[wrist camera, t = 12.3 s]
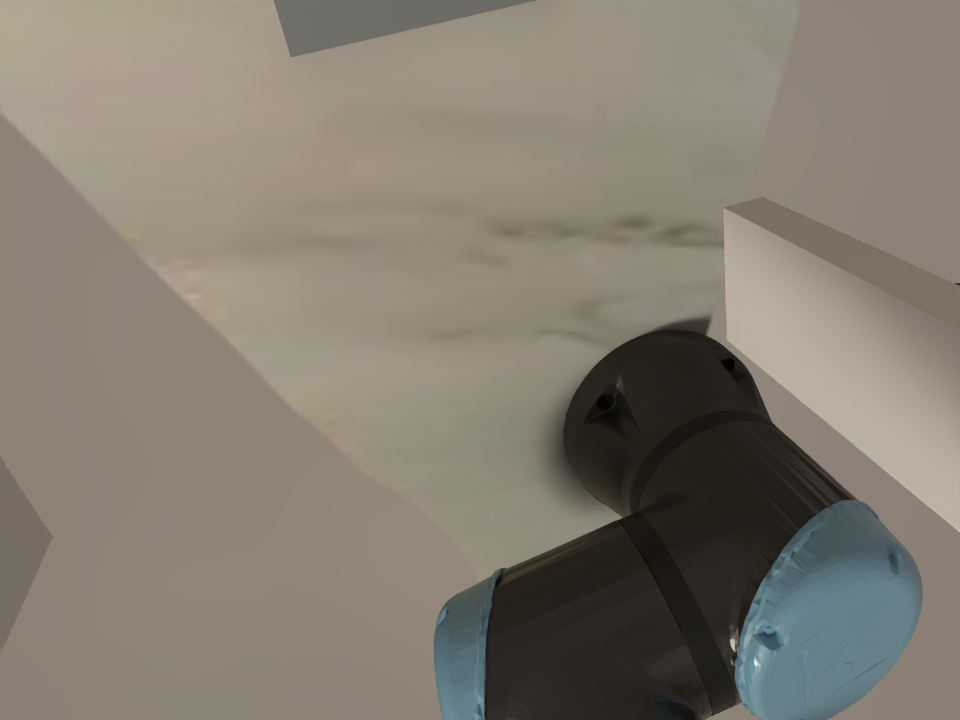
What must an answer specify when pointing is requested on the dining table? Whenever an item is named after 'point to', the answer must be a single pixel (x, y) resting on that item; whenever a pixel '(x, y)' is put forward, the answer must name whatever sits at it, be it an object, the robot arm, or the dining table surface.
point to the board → (367, 19)
